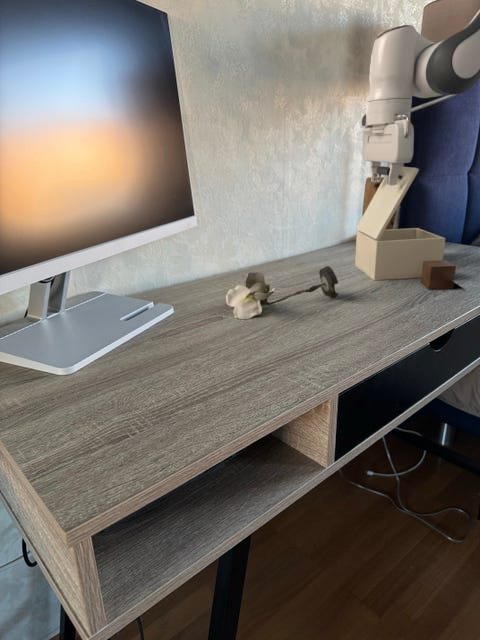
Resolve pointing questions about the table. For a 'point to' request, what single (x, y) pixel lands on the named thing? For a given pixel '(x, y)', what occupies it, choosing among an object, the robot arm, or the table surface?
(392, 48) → the robot arm
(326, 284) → the artificial flower
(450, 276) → the cube
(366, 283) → the table surface
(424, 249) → the beige open box
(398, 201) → the lid
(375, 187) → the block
